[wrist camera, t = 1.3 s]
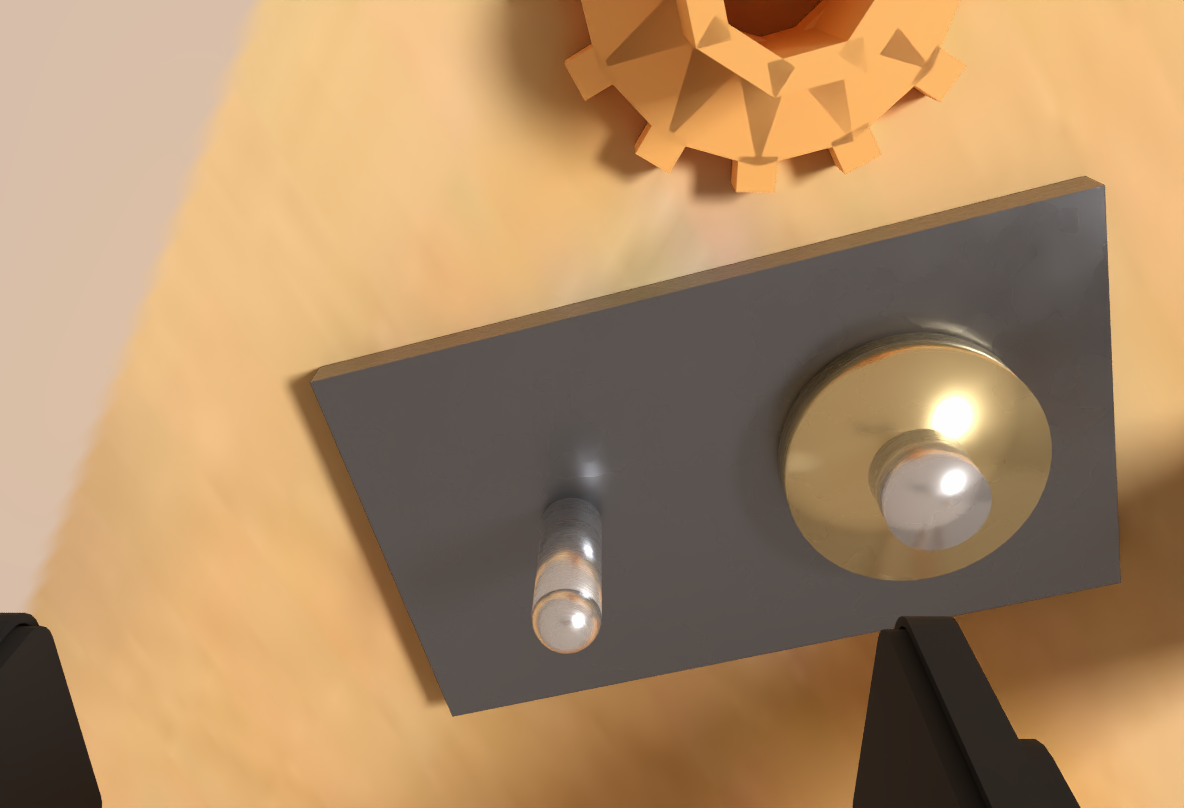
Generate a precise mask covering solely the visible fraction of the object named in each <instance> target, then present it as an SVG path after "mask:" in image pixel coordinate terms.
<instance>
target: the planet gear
mask: <svg viewBox="0 0 1184 808" xmlns="http://www.w3.org/2000/svg"><path fill="white" fill-rule="evenodd" d="M959 1H960V0H822V1H821V2H820V3H819V4H818V5H817V6H816V7H815V8H814V9H813V10H812V11H811V12H810V13H809V14H808V15H807V16H806V17H805V18H804V19H803V20H802V21H801V22H800V23H799V24H798V25H797V26H795V27H794V28H790V29H787V30H783V31H779V32H776V33H772V34H768V35H765V36H761V37H759V36H756V35H752V34H749V33H746V32H742V31H739V30H737V29H736V28H734V27H732V26H731V25H729V24H728V21H727V15H726V10H725V5H724V0H581V3H582V7H583V11H584V15H585V19H586V23H587V27H588V31H589V35H590V39H591V43H592V44H590V45H589V46H587V47H586V48H584V49H582V50H581V51H579V52H577V53H576V54H574V55H572V56H571V57H569V58H568V59H566V61H565V66H566V68H567V70H568V72H569V73H570V75H571V77H572V79H573V81H574V82H575V84H576V86H577V88H578V90H579V91H580V93H581V95H582V97H583V99H584V100H585V101H586V100H588V99H589V98H591V97H593V96H594V95H596V94H598V93H599V92H601V91H603V90H604V89H606V88H608V87H609V86H611V85H614V86H615V87H616V88H617V90H618V91H619V92H620V93H621V94H622V95H623V96H624V97H625V98H626V99H627V100H628V101H629V102H630V103H631V104H632V105H633V107H634V108H635V109H636V110H637V111H638V112H639V113H640V114H641V115H642V116H643V117H644V118H645V119H646V120H647V121H648V123H647V125H646V126H645V128H644V130H643V131H642V133H641V135H640V137H639V138H638V140H637V142H636V143H635V145H634V148H635V154H637V155H638V156H640V157H642V158H644V159H645V160H647V161H649V162H650V163H652V164H654V165H655V166H657V167H659V168H660V169H662V170H664V171H665V172H667V173H670V171H671V169H672V168H673V166H674V165H675V163H676V161H677V160H678V158H679V156H680V155H681V153H682V151H683V150H684V148H685V147H690V148H693V149H697V150H700V151H704V152H707V153H711V154H715V155H718V156H722V157H725V158H729V159H732V176H731V184H732V186H733V187H734V189H735V191H736V192H775V187H776V175H777V163H778V161H781V160H784V159H788V158H792V157H796V156H800V155H804V154H807V153H811V152H815V151H819V150H823V149H827V148H828V150H829V152H830V154H831V156H832V158H833V161H834V163H835V165H836V166H837V167H838V168H839V169H840V170H841V171H842V172H843V173H844V174H847V173H849V172H850V171H852V170H854V169H856V168H858V167H860V166H862V165H863V164H865V163H867V162H869V161H871V160H873V159H875V158H876V157H878V156H880V155H882V154H881V152H880V149H879V147H878V145H877V143H876V140H875V138H874V136H873V134H872V131H871V129H870V126H871V125H872V124H873V123H874V122H875V121H876V120H877V119H878V118H880V117H881V116H882V115H883V114H884V113H885V112H886V111H887V110H888V109H889V108H891V107H892V106H893V105H894V104H895V103H896V102H897V101H898V100H899V99H900V98H902V97H903V96H904V95H905V94H906V93H907V92H908V91H909V90H910V89H911V88H913V87H914V88H915V89H917V90H918V91H920V92H921V93H923V94H924V95H926V96H928V97H930V98H932V99H934V100H937V101H939V102H941V101H942V99H943V98H944V96H945V95H946V94H947V92H948V91H949V89H950V88H951V87H952V85H953V84H954V82H955V81H956V79H957V78H958V77H959V75H960V74H961V72H962V71H963V70H964V68H965V67H966V65H965V64H964V63H962V62H961V61H959V60H958V59H956V58H955V57H953V56H952V55H950V54H949V53H947V52H946V51H944V50H943V49H942V48H941V46H942V44H943V41H944V39H945V36H946V34H947V31H948V29H949V26H950V24H951V21H952V19H953V16H954V14H955V11H956V9H957V6H958V4H959Z"/></svg>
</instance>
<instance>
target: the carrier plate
mask: <svg viewBox="0 0 1184 808" xmlns="http://www.w3.org/2000/svg"><path fill="white" fill-rule="evenodd" d="M310 383H311V386H312V388H313V390H314V393H315V395H316V397H317V400H318V402H319V404H320V407H321V409H322V412H323V414H324V416H325V419H326V421H327V423H328V426H329V428H330V430H331V433H332V435H333V437H334V440H335V442H336V444H337V447H338V449H339V451H340V454H341V456H342V458H343V461H344V463H345V465H346V468H347V470H348V472H349V475H350V477H351V480H352V482H353V484H354V487H355V489H356V491H357V494H358V496H359V498H360V501H361V503H362V505H363V508H364V510H365V512H366V515H367V517H368V519H369V522H370V524H371V526H372V529H373V531H374V533H375V536H376V538H377V541H378V543H379V545H380V548H381V550H382V552H383V555H384V557H385V559H386V562H387V564H388V566H389V569H390V571H391V573H392V576H393V578H394V580H395V583H396V585H397V587H398V590H399V592H400V594H401V597H402V599H403V601H404V604H405V606H406V609H407V611H408V613H409V616H410V618H411V620H412V623H413V625H414V627H415V630H416V632H417V634H418V637H419V639H420V641H421V644H422V646H423V648H424V651H425V653H426V655H427V658H428V660H429V662H430V665H431V667H432V670H433V672H434V674H435V677H436V679H437V681H438V684H439V686H440V688H441V691H442V693H443V695H444V698H445V700H446V702H447V705H448V707H449V709H450V712H451V714H452V716H458V715H463V714H468V713H473V712H478V711H483V710H488V709H493V708H498V707H503V706H508V705H513V704H518V703H523V702H528V701H533V700H538V699H543V698H548V697H553V696H558V695H563V694H568V693H573V692H578V691H583V690H588V689H593V688H598V687H603V686H608V685H613V684H618V683H623V682H628V681H633V680H638V679H642V678H647V677H652V676H657V675H662V674H667V673H672V672H677V671H682V670H687V669H692V668H697V667H702V666H707V665H712V664H717V663H722V662H727V661H732V660H737V659H742V658H747V657H752V656H757V655H762V654H767V653H772V652H777V651H782V650H787V649H792V648H797V647H802V646H807V645H812V644H817V643H822V642H827V641H832V640H837V639H842V638H847V637H852V636H857V635H862V634H867V633H872V632H877V631H881V630H883V629H892V628H895V624H896V621H897V620H898V618H899V617H901V616H950V617H951V616H956V615H961V614H966V613H971V612H976V611H981V610H986V609H991V608H996V607H1001V606H1006V605H1011V604H1016V603H1021V602H1026V601H1031V600H1036V599H1041V598H1046V597H1051V596H1056V595H1061V594H1066V593H1071V592H1076V591H1081V590H1086V589H1091V588H1096V587H1101V586H1106V585H1111V584H1116V583H1121V576H1120V551H1119V526H1118V501H1117V476H1116V451H1115V426H1114V401H1113V376H1112V351H1111V326H1110V301H1109V277H1108V252H1107V227H1106V202H1105V185H1104V184H1101V183H1099V182H1097V181H1095V180H1093V179H1091V178H1089V177H1087V176H1083V177H1079V178H1075V179H1071V180H1067V181H1063V182H1059V183H1055V184H1051V185H1047V186H1043V187H1039V188H1035V189H1031V190H1027V191H1023V192H1019V193H1015V194H1011V195H1007V196H1003V197H999V198H995V199H991V200H987V201H983V202H979V203H975V204H971V205H967V206H963V207H959V208H955V209H951V210H947V211H943V212H939V213H935V214H931V215H927V216H923V217H919V218H915V219H911V220H907V221H903V222H899V223H895V224H891V225H887V226H883V227H879V228H875V229H871V230H867V231H863V232H859V233H855V234H851V235H847V236H843V237H839V238H835V239H831V240H827V241H823V242H819V243H815V244H811V245H807V246H803V247H799V248H795V249H791V250H787V251H783V252H779V253H775V254H771V255H767V256H763V257H759V258H755V259H751V260H747V261H743V262H739V263H735V264H731V265H727V266H723V267H719V268H715V269H711V270H707V271H703V272H699V273H695V274H691V275H687V276H683V277H679V278H675V279H671V280H667V281H663V282H659V283H655V284H651V285H647V286H643V287H639V288H635V289H631V290H627V291H623V292H619V293H615V294H611V295H607V296H603V297H599V298H595V299H591V300H587V301H583V302H579V303H575V304H571V305H567V306H563V307H559V308H555V309H551V310H547V311H543V312H539V313H535V314H531V315H527V316H523V317H519V318H515V319H511V320H507V321H503V322H499V323H495V324H491V325H487V326H483V327H479V328H475V329H471V330H467V331H463V332H459V333H455V334H451V335H447V336H443V337H439V338H435V339H431V340H427V341H423V342H419V343H415V344H411V345H407V346H403V347H399V348H395V349H391V350H387V351H383V352H379V353H375V354H371V355H367V356H363V357H359V358H355V359H351V360H347V361H343V362H339V363H335V364H331V365H327V366H323V367H320V368H319V370H318V371H317V373H316V374H315V376H314V377H313V379H312V380H311V382H310Z"/></svg>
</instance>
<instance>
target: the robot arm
mask: <svg viewBox="0 0 1184 808" xmlns="http://www.w3.org/2000/svg"><path fill="white" fill-rule="evenodd" d="M0 808H102V800H101V795H100V792H99V788H98V785H97V782H96V779H95V775H94V772H93V769H92V765H91V762H90V759H89V755H88V752H87V749H86V745H85V742H84V739H83V735H82V732H81V729H80V726H79V722H78V719H77V716H76V712H75V709H74V706H73V702H72V699H71V696H70V692H69V689H68V686H67V683H66V679H65V676H64V673H63V669H62V666H61V663H60V659H59V656H58V653H57V649H56V646H55V643H54V639H53V636H52V634H51V632H50V630H48V629H47V628H46V627H43V626H39V625H38V623H37V620H36V619H35V618H34V617H33V616H32V615H31V614H27V613H0ZM853 808H1080V806H1079V804H1078V802H1077V801H1076V799H1075V797H1074V795H1073V793H1072V792H1071V790H1070V788H1069V786H1068V784H1067V783H1066V781H1065V779H1064V777H1063V775H1062V774H1061V772H1060V770H1059V768H1058V766H1057V765H1056V763H1055V761H1054V759H1053V757H1052V756H1051V755H1050V753H1049V752H1048V750H1047V749H1046V747H1045V746H1044V745H1043V744H1041V743H1040V742H1039V741H1037V740H1036V739H1018V737H1017V735H1016V733H1015V732H1014V730H1013V728H1012V726H1011V724H1010V722H1009V720H1008V718H1007V716H1006V714H1005V713H1004V711H1003V709H1002V707H1001V705H1000V703H999V701H998V699H997V697H996V695H995V693H994V692H993V690H992V688H991V686H990V684H989V682H988V680H987V678H986V676H985V674H984V673H983V671H982V669H981V667H980V665H979V663H978V661H977V659H976V657H975V655H974V653H973V652H972V650H971V648H970V646H969V644H968V642H967V640H966V638H965V636H964V634H963V633H962V631H961V629H960V627H959V625H958V623H957V622H956V621H955V619H954V618H952V617H950V616H901V617H899V618H898V620H897V621H896V624H895V628H894V629H883V630H881V632H880V634H879V637H878V642H877V649H876V656H875V662H874V669H873V675H872V682H871V688H870V695H869V701H868V708H867V714H866V721H865V727H864V734H863V740H862V747H861V753H860V760H859V767H858V773H857V780H856V786H855V793H854V799H853Z"/></svg>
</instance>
